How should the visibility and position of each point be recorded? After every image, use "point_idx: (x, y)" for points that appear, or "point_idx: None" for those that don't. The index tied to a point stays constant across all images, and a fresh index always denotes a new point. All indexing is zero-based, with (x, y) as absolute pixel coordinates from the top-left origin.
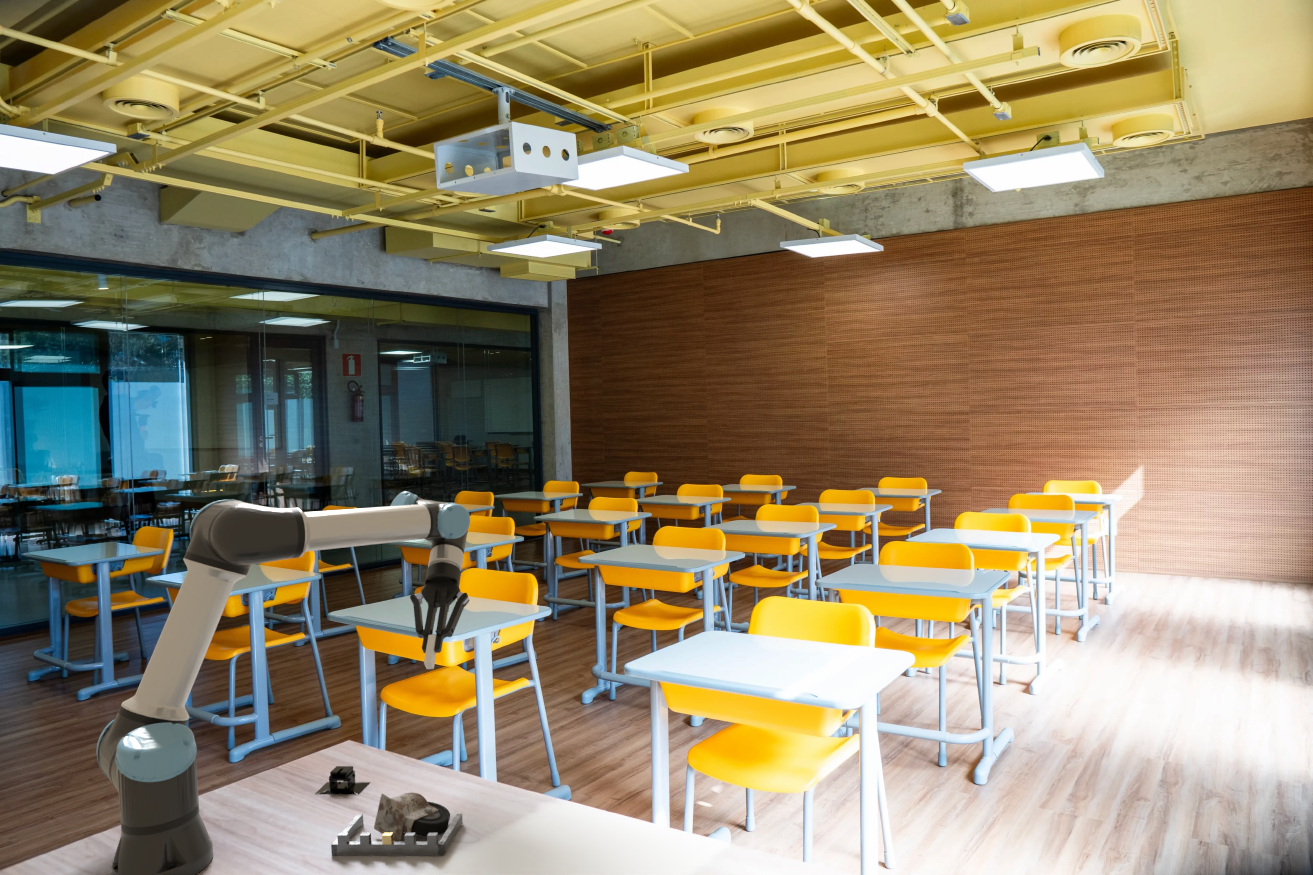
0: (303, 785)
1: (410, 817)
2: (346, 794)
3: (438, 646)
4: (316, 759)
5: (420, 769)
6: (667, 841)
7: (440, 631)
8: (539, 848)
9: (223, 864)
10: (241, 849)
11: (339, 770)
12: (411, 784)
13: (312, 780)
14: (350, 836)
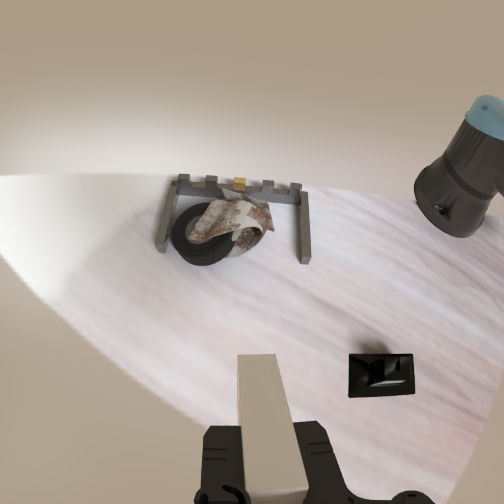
0: (439, 378)
1: (219, 202)
2: (368, 354)
3: (214, 441)
4: (459, 462)
5: None
6: None
7: (198, 493)
8: (75, 197)
9: (404, 200)
10: (408, 223)
11: (399, 365)
12: None
13: (436, 395)
14: (300, 227)
